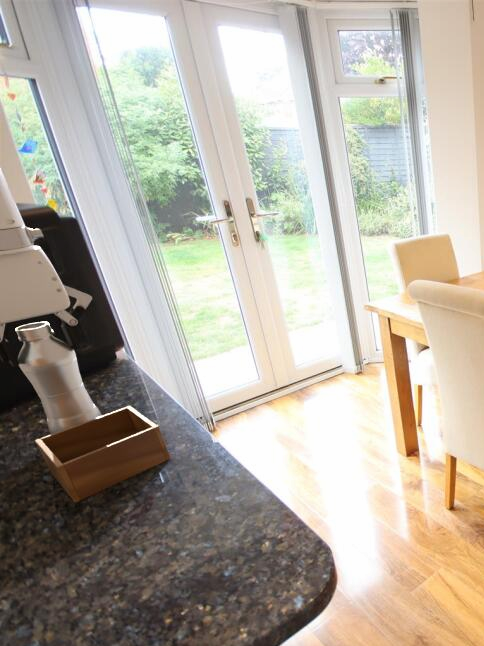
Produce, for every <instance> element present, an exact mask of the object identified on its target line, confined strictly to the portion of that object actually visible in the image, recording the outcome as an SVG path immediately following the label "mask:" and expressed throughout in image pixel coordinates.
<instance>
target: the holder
mask: <svg viewBox="0 0 484 646" xmlns="http://www.w3.org/2000/svg"><path fill="white" fill-rule="evenodd" d="M34 442H35V444H36V446H37V449H38V450H39V452H40V454H41V456H42V458H43V460H44V462H45V464H46V466H47V468H48V470H49V472H50V474H51V475H52V476H53V477H54V479H55V480H56V481H57V482H58V484H59V485H60V486H61V487H62V489H63V490H64V491H65V493H66V494H67V495H68V496H69V498H71V500H72V501H73V503H74V504H75V503H76V504H77V503H78V502H80V501H82V500H85V499H86V498H87V499H88V498H89V497H91V496H94V495H95V494H98V493H100V492H102V491H105V490H106V489H108V488H111V487H113V486H115V485H117V484H120V483H122V482H123V481H126V480H128V479H131V478H132V477H135V476H137V475H140V474H141V473H143V472H146V471H147V470H149V469H152V468H154V467H156V466H158V465H161V464H163V463H165V462H166V461H169V460H172V459H171V456H170V453H169V451H168V448H167V445H166V442H165V439H164V437H163V435H162V431H161V429H160V427H159V425H158V424H156V423H155V422H153V421H152V420H150V419H149V418H148V417H146V416H145V415H144V414H142V413H141V412H139V411H138V410H136V409H135V408H134V407H132V406H131V405H128V406H125V407H122V408H119V409H117V410H113V411H111V412H109V413H106V414H102V416H100V417H97V418H95V419H92V420H89V421H86V422H84V423H81V424H78V425H75V426H73V427H70V428H67V429H64V430H62V431H59V432H56V433H53V434H51V433H50V434H48V435H45V436H43V437H40V438H37V439H34Z"/></svg>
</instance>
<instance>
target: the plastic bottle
mask: <svg viewBox="0 0 484 646" xmlns="http://www.w3.org/2000/svg"><path fill="white" fill-rule="evenodd" d="M15 332H16V334H17V337H18V340H19V342H23V344H22V347H21V349H20V351H19V353H18V356H17V359H18V361H19V363H20V365H18V367H19V368H20V370H21V371H22V373H23V375H25V377H26V378H27V379H28V381H29V382H30V383H31V385H32V386H33V389H34V390H35V392H36V394H37V396H38V397H39V399H40V401H41V404H42V407H43V410H44V414H45V416H46V423H47V427H48V431H49V433H50V435H51V434H53V433H56V432H59V431H62V430H64V429H67V428H70V427H73V426H75V425H78V424H81V423H84V422H86V421H89V420H92V419H95V418H97V417H100V416H103V414H102V413H101V411H100V409H99V407H98V406H96V404H95V403H94V402H93V399H92V398H91V397H90V394H89V393H88V391H87V389H86V386H85V384H84V382H83V379H82V375H81V373H80V369H79V363H78V359H77V353H76V352H75V351H76V350H74V349H73V348H71V346H70V345H69V344H68V343H67V342H64V341H63V340H61V339H59V338H57V337H55V336H54V334H55V332H54V330H53V329H52V327H51V326H50V323H49V322H48V321H40V322H39V321H38V322H31V323H27V324H23V325H20V326H18V327H16V328H15Z"/></svg>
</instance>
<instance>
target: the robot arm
mask: <svg viewBox="0 0 484 646" xmlns="http://www.w3.org/2000/svg"><path fill="white" fill-rule="evenodd" d="M42 238H43V239H44V234H43V231H42V230H41V229H40V228H35V229H33V228H30V227H28V226H26V224H25V222H24V220H23V218H22V215H21V213H20V210H19V208H18V206H17V203H16V201H15V198H14V196H13V194H12V191H11V189H10V187H9V184H8V181H7V180H6V177H5V175H4V171H3V170H2V167H0V360H1V362H2V363H7V362H8V363H9V364H10V365H11V366H12V367H13V368H15V367H19V365H20V363H19V361H18V356H17V355H16V353H15V351H14V349H13V347H12V345H11V342H10V341H9V340H8V339H7V338H5V337H4V332H5V329H6V328H5V327H6V324H9V323H12V322H13V323H14V322H18V321H22V320H26V319H32V318H37V317H41V316H46V315H50V314H54V315H55V316H56V317H57V318H59V319H60V320H61V325H60V328H61V330H62V333H63V335H64V336H65V340H66V341H67V344H68V345H70V346H71V348H72V349H73V350H74V351H79V350H81V349H82V348H81V346H80V343H83V342H84V341H83V338H82V336H81V333H80V331H79V328H78V326H77V325H78V323H79V320H80V319H81V317H82V316H83V314H85V312H86V309H87V308H88V306H89V305H90V303H91V301H92V300H93V296H92V295H90V294H88V293H85V292H82V291H80V290H77V289H76V288H73V287H70V286H67V285H65V284H63V282H62V280H61V278H60V276H59V275H58V273H57V271H56V269H55V267H54V265H53V264H52V262H51V260H50V258H49V257H48V256H47V254H46V253H45V252H44V250H43V248H42V247H41V246H39V245H35V241H36V240H38V239H42ZM70 297H72V298H75V299H76V302H75V304H74V305H73V306H72V307H71V308H70V310H69V311H67V310H66V309H68V308H69V307H70V306H71V300H70Z"/></svg>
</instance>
